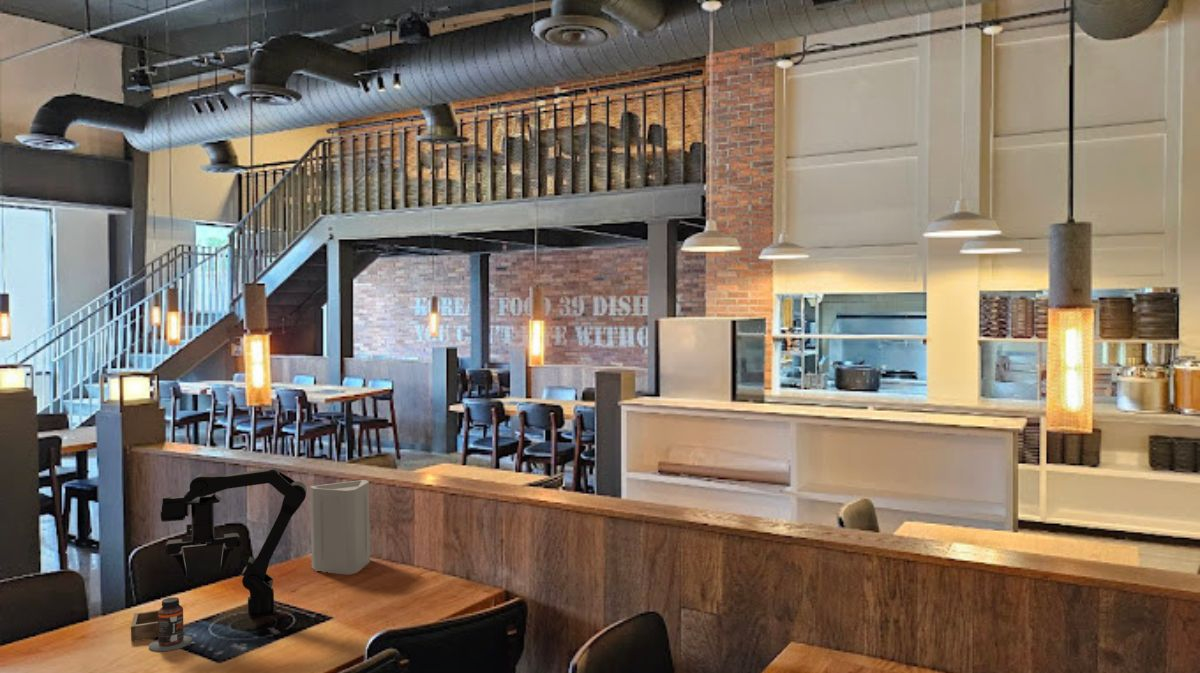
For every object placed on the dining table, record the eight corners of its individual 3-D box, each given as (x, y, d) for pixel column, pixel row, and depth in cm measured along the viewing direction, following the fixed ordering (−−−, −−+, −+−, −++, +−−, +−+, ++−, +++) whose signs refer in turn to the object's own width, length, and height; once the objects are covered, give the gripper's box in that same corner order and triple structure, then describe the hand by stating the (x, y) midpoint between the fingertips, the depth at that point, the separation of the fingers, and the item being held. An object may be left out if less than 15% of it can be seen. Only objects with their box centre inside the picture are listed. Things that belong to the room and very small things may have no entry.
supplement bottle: (181, 645, 214) (180, 602, 214) (155, 648, 213) (154, 604, 213) (186, 636, 220) (185, 594, 220) (161, 639, 219) (160, 597, 218)
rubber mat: (192, 634, 223) (192, 632, 223) (191, 647, 214) (191, 646, 214) (150, 640, 219) (150, 639, 219) (147, 654, 210) (147, 653, 210)
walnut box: (179, 621, 233) (179, 607, 233) (177, 634, 223) (177, 619, 223) (134, 627, 228) (134, 613, 228) (131, 641, 218) (130, 626, 218)
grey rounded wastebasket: (322, 579, 269) (321, 493, 269) (311, 567, 282) (309, 486, 281) (380, 568, 280) (378, 486, 279) (366, 558, 292) (365, 479, 291)
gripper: (237, 509, 245) (238, 561, 245) (166, 516, 237) (167, 570, 237) (239, 517, 235) (240, 572, 235) (165, 525, 227) (166, 581, 227)
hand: (203, 573), depth 234 cm, fingers open, 9 cm apart
